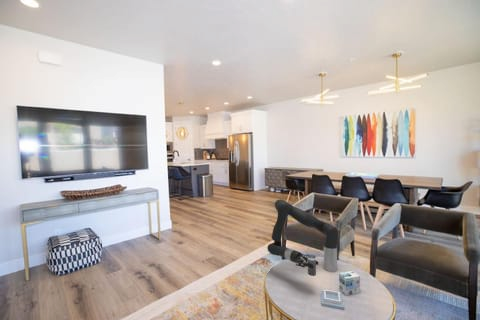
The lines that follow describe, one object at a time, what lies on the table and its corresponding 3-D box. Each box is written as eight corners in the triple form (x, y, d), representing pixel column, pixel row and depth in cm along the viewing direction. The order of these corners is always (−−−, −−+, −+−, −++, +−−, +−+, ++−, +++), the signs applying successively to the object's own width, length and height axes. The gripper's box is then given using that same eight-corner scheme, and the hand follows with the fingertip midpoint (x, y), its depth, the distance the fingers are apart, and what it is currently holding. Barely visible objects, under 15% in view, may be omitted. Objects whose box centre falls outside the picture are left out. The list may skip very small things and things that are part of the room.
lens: (307, 270, 143) (307, 254, 142) (316, 272, 141) (316, 255, 140) (307, 275, 138) (307, 258, 137) (316, 276, 136) (316, 259, 135)
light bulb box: (345, 295, 136) (345, 278, 135) (338, 288, 142) (338, 272, 142) (360, 292, 138) (360, 276, 137) (353, 286, 145) (353, 270, 144)
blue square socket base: (321, 292, 139) (321, 287, 139) (342, 296, 135) (341, 290, 135) (321, 305, 128) (321, 299, 128) (344, 310, 124) (344, 304, 124)
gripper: (286, 253, 145) (309, 263, 132) (299, 246, 154) (321, 255, 141) (286, 264, 145) (309, 275, 132) (299, 257, 155) (321, 266, 142)
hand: (315, 265), depth 137 cm, fingers closed on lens, 5 cm apart
